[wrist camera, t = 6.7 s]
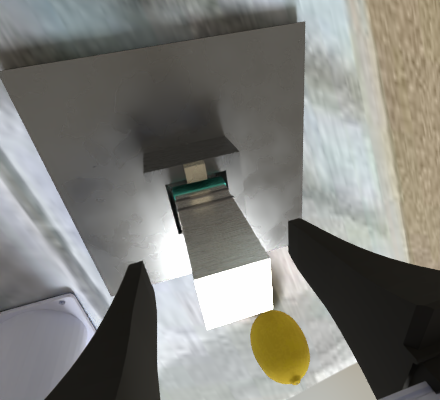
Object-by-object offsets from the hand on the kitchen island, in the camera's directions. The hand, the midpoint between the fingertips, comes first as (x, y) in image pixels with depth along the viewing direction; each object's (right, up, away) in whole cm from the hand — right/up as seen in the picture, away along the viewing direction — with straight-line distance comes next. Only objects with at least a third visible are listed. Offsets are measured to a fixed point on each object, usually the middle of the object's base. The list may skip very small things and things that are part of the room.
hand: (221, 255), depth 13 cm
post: (-1, +3, +5) cm, 6 cm away
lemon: (+5, -10, +19) cm, 22 cm away
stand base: (-2, +5, +8) cm, 10 cm away
